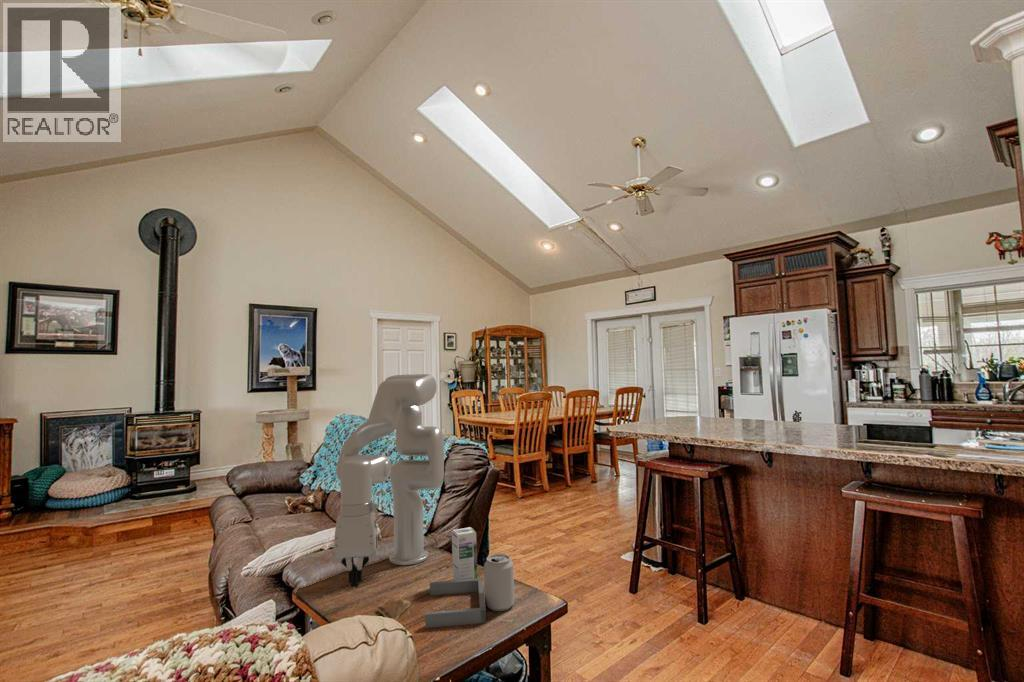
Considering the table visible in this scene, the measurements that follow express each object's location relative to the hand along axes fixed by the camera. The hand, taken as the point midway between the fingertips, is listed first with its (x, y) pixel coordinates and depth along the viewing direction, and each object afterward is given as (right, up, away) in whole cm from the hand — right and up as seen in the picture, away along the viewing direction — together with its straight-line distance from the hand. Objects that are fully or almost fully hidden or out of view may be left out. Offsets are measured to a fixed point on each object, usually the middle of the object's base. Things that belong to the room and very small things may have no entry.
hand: (355, 585), depth 120 cm
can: (+36, -7, +3) cm, 37 cm away
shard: (+10, -8, +1) cm, 13 cm away
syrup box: (+26, -8, +18) cm, 32 cm away
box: (+25, -7, +3) cm, 26 cm away
